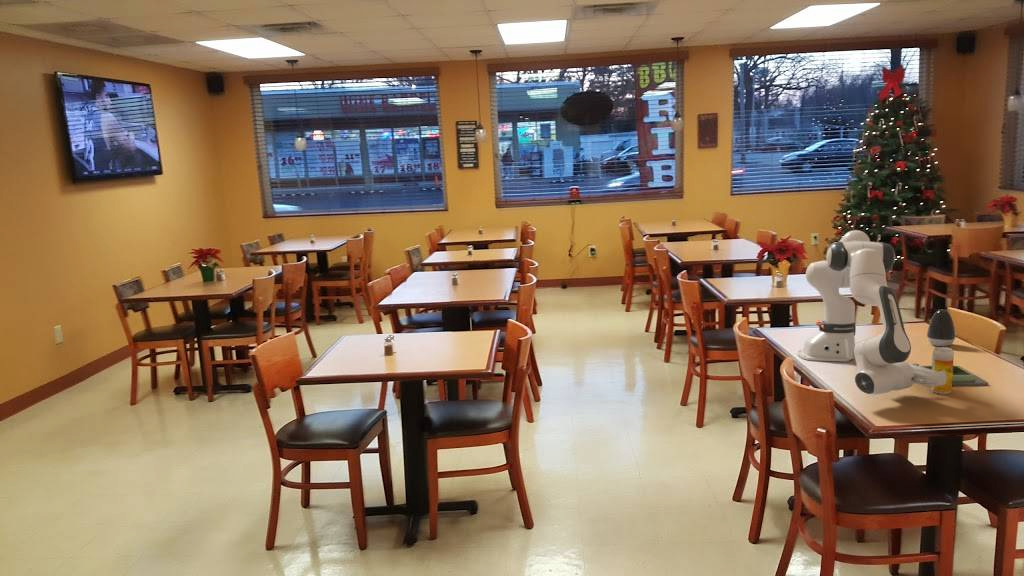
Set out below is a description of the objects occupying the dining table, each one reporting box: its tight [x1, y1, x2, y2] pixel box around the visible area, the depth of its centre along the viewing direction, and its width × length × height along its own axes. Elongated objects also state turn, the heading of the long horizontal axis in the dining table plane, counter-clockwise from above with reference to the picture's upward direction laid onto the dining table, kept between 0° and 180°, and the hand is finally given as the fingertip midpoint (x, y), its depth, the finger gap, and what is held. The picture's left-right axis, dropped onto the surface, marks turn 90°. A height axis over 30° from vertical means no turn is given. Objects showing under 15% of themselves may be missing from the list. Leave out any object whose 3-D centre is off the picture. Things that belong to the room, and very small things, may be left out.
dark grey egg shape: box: [926, 308, 956, 347], centre depth 304 cm, size 10×10×15 cm
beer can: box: [930, 346, 955, 395], centre depth 246 cm, size 6×6×15 cm
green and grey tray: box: [919, 364, 989, 387], centre depth 261 cm, size 20×16×3 cm
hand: (930, 369), depth 244 cm, fingers open, 8 cm apart
